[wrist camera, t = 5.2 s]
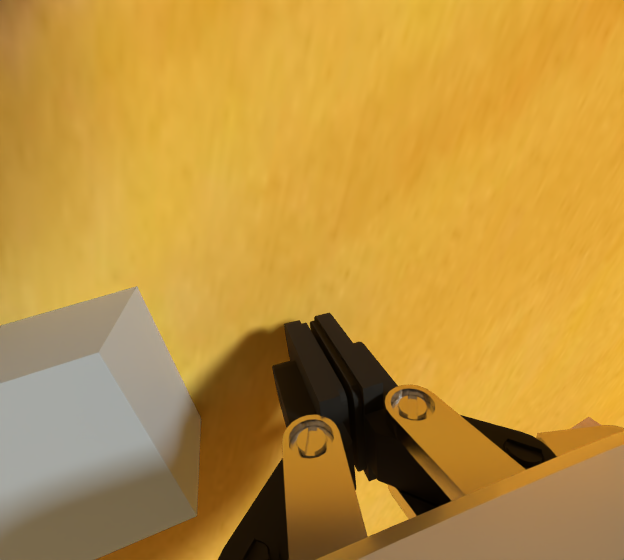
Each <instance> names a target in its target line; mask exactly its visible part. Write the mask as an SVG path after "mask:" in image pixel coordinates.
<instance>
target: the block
mask: <svg viewBox="0 0 624 560" xmlns="http://www.w3.org/2000/svg"><path fill="white" fill-rule="evenodd" d="M200 437H201V417H200V415H199V413H198V411H197V409H196V407H195V405H194V403H193V401H192V399H191V397H190V395H189V393H188V391H187V388H186V386H185V384H184V382H183V380H182V378H181V376H180V374H179V372H178V370H177V368H176V366H175V364H174V362H173V360H172V358H171V356H170V353H169V351H168V349H167V347H166V345H165V343H164V341H163V339H162V337H161V335H160V333H159V331H158V329H157V327H156V325H155V323H154V321H153V318H152V316H151V314H150V312H149V310H148V308H147V306H146V304H145V302H144V300H143V298H142V296H141V294H140V292H139V290H138V288H137V287H133V288H130V289H126V290H123V291H119V292H116V293H112V294H109V295H105V296H102V297H98V298H95V299H91V300H88V301H85V302H81V303H78V304H74V305H71V306H67V307H64V308H60V309H57V310H53V311H50V312H46V313H43V314H39V315H36V316H33V317H29V318H26V319H22V320H19V321H15V322H12V323H8V324H5V325H1V326H0V560H95V559H98V558H100V557H102V556H105V555H107V554H109V553H112V552H114V551H116V550H119V549H121V548H123V547H126V546H128V545H130V544H133V543H135V542H137V541H140V540H142V539H144V538H147V537H149V536H151V535H154V534H156V533H158V532H161V531H163V530H166V529H168V528H170V527H173V526H175V525H177V524H180V523H182V522H184V521H187V520H189V519H191V518H194V517H196V516H197V507H198V484H199V460H200Z"/></svg>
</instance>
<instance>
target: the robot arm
mask: <svg viewBox="0 0 624 560" xmlns="http://www.w3.org/2000/svg"><path fill="white" fill-rule="evenodd" d="M284 327H285V334H286V340H287V345H288V351H289V357H290V361H288V362H284V363H280V364H277V365H273V366H272V368H273V374H274V379H275V384H276V388H277V393H278V397H279V401H280V405H281V409H282V413H283V416H284V420H285V424H286V427H287V428H286V430H285V432H284V434H283V439H282V452H283V458H282V460H281V461H280V463H279V464H278V466H277V467H276V469H275V470H274V472H273V473H272V475H271V476H270V478H269V479H268V481H267V483H266V484H265V486H264V487H263V489H262V490H261V492H260V493H259V495H258V496H257V498H256V499H255V501H254V502H253V504H252V506H251V507H250V509H249V510H248V512H247V513H246V515H245V516H244V518H243V519H242V521H241V522H240V524H239V525H238V527H237V528H236V530H235V532H234V533H233V535H232V536H231V538H230V539H229V541H228V542H227V544H226V545H225V547H224V548H223V550H222V552H221V554H220V556H219V558H218V560H624V428H622V427H618V426H613V425H602V426H593V427H585V428H577V429H568V430H560V431H552V432H543V433H537V437H536V438H535V437H533V436H531V435H528V434H526V433H523V432H520V431H516V430H513V429H509V428H505V427H502V426H498V425H494V424H491V423H487V422H483V421H480V420H476V419H473V418H469V417H465V416H462V415H459V414H458V413H457V412H455V411H454V410H453V409H452V408H451V407H449V406H448V405H447V404H446V403H445V402H443V401H442V400H441V399H440V398H438V397H437V396H436V395H435V394H434V393H432V392H431V391H429V390H428V389H426V388H423V387H420V386H416V385H401V386H397V384H396V383H395V382H394V381H393V379H392V378H391V377H390V376H389V374H388V373H387V372H386V371H385V370H384V368H383V367H382V366H381V365H380V363H379V362H378V361H377V360H376V358H375V357H374V356H373V355H372V354H371V352H370V351H369V350H368V349H367V347H366V346H365V345H364V344H363V343H362V342H357V343H353V342H352V341H351V340H350V338H349V337H348V336H347V335H346V333H345V332H344V331H343V329H342V328H341V327H340V325H339V324H338V323H337V321H336V320H335V319H334V317H333V316H332V315H331V314H330V313H326V314H322V315H318V316H315V317H314V321H311V322H310V328H311V330H310V328H309V327H308V325H307V323H303V324H301V322H300V320H298V321H294V322H290V323H286V324H284ZM354 465H355V467H356V469H357V471H362V470H364V472H365V474H366V476H367V478H368V480H369V481H371V480H374V479H377V480H378V481H381V482H383V483H386V484H388V489H389V491H390V493H391V495H392V496H393V498H394V499H395V501H396V502H397V503H398V505H399V506H400V508H401V509H402V510H403V512H404V513H405V515H406V516H407V517H408V519H409V520H406V521H404V522H402V523H399V524H397V525H395V526H392V527H390V528H388V529H385V530H383V531H381V532H378V533H376V534H374V535H371V536H369V537H367V533H366V529H365V526H364V522H363V518H362V514H361V511H360V507H359V503H358V499H357V496H356V492H355V490H356V480H355V468H354Z"/></svg>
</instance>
